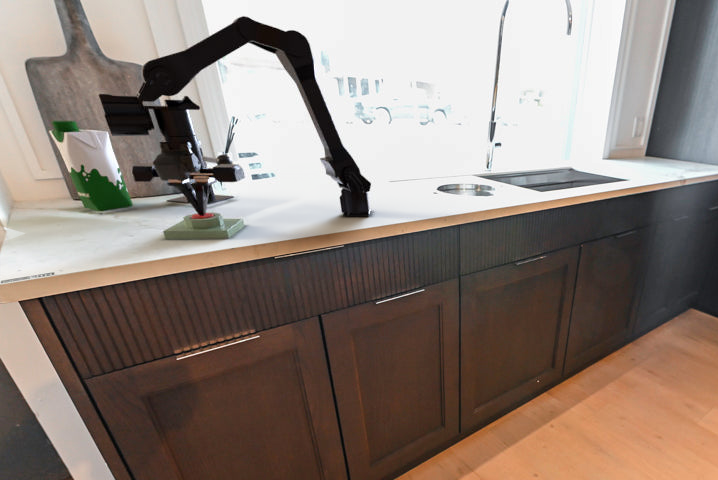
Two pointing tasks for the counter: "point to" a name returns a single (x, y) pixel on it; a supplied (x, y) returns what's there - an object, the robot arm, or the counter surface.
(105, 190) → the milk carton
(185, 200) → the bracket
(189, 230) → the button block
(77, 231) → the counter surface
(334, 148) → the robot arm
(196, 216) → the button
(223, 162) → the lever
